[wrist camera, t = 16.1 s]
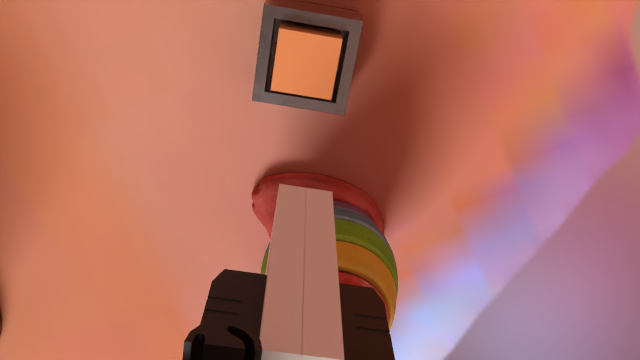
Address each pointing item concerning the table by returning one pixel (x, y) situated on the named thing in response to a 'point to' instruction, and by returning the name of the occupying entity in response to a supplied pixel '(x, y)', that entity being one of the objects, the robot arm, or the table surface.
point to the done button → (306, 60)
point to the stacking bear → (342, 232)
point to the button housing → (289, 9)
